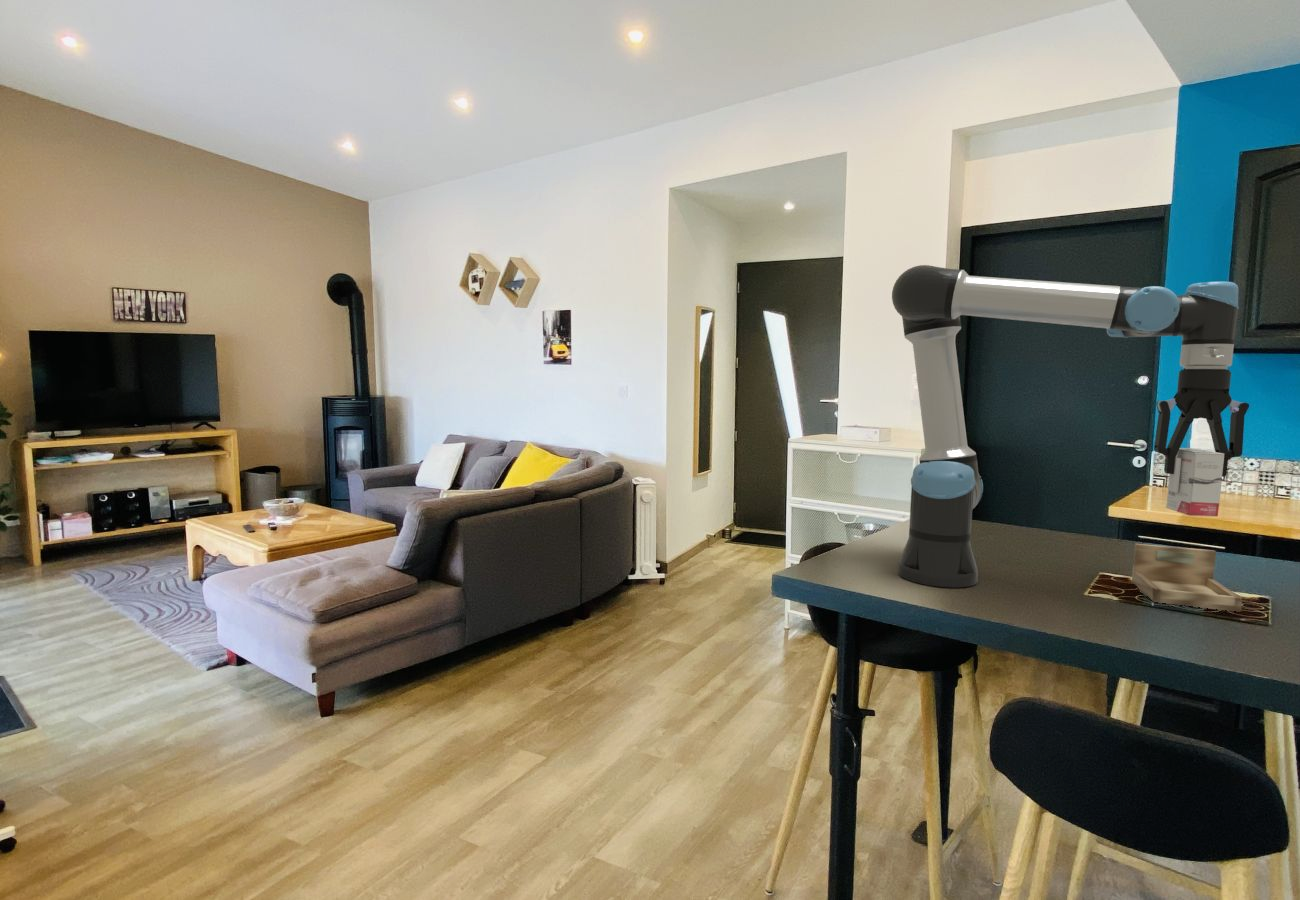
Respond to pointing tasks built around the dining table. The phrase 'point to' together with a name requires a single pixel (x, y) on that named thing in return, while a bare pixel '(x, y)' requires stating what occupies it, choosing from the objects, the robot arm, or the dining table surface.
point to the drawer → (1181, 577)
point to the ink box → (1197, 483)
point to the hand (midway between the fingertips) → (1192, 492)
